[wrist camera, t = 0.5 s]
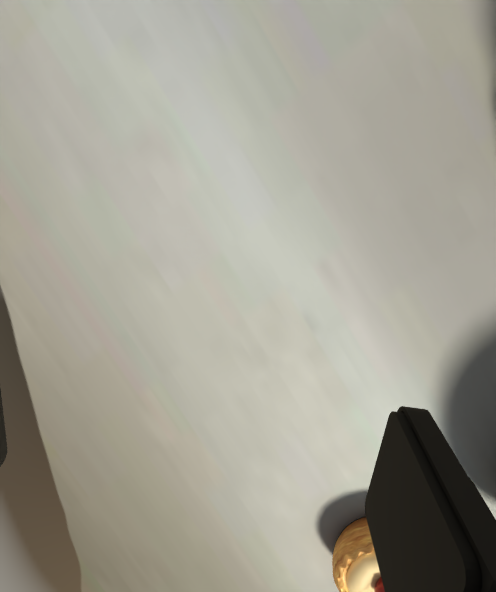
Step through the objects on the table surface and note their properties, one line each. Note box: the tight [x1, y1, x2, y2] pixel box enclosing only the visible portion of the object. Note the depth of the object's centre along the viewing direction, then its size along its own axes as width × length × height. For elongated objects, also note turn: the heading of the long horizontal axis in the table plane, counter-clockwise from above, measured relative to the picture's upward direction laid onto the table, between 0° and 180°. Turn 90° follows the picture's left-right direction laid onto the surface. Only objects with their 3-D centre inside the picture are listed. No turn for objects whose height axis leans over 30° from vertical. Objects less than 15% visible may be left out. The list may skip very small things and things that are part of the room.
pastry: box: [332, 517, 385, 592], centre depth 45 cm, size 12×12×9 cm
